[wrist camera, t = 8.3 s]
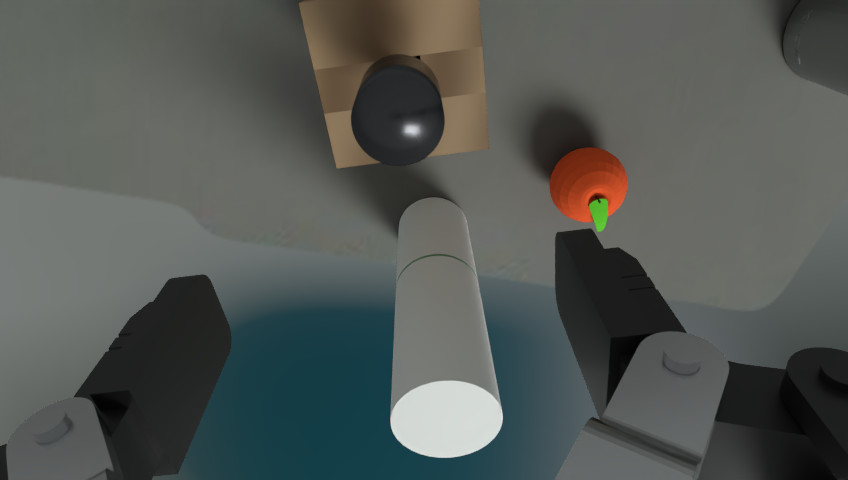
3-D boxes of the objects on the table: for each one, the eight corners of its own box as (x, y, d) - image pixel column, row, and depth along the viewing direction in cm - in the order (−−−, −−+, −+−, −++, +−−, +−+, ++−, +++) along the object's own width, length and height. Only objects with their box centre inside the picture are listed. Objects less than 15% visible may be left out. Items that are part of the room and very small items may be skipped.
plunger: (442, -25, 41) (473, 23, 21) (451, 66, 45) (485, 185, 24) (353, -12, 41) (297, 48, 21) (369, 78, 45) (334, 204, 24)
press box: (469, -67, 41) (506, -63, 25) (480, 86, 48) (516, 169, 31) (319, -44, 42) (260, -26, 26) (349, 103, 48) (317, 194, 32)
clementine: (618, 199, 54) (645, 234, 48) (551, 218, 55) (568, 254, 49) (608, 127, 50) (635, 155, 44) (536, 148, 51) (553, 179, 45)
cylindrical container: (403, 259, 57) (397, 461, 35) (394, 200, 53) (383, 385, 32) (469, 253, 57) (503, 453, 35) (465, 193, 53) (501, 375, 32)
